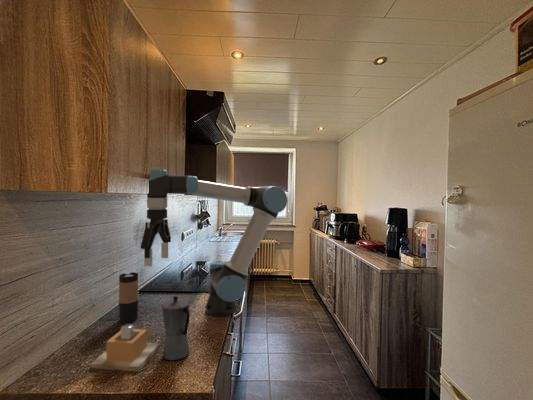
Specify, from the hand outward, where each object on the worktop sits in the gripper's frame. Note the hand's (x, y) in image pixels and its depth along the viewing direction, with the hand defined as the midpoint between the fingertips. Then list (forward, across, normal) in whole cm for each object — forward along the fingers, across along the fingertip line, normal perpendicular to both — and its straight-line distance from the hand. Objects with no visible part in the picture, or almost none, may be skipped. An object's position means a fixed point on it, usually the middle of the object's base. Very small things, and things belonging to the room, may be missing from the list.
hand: (157, 261), depth 112 cm
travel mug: (+29, -10, -18) cm, 35 cm away
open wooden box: (+27, +17, -2) cm, 32 cm away
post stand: (+29, +17, -2) cm, 33 cm away
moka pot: (+29, +13, +14) cm, 35 cm away
